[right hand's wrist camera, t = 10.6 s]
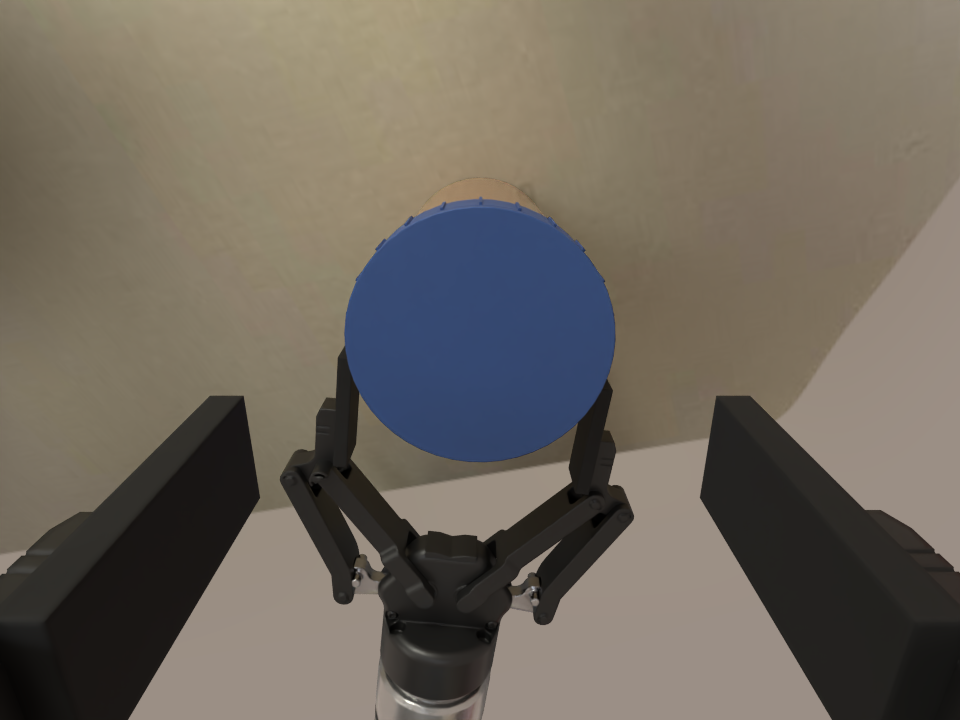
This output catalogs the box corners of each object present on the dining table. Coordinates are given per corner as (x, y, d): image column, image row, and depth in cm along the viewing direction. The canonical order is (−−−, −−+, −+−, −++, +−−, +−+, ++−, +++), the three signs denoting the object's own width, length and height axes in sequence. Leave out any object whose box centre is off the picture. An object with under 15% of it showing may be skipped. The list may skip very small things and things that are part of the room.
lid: (316, 373, 23) (300, 397, 21) (421, 145, 20) (414, 148, 18) (526, 469, 25) (531, 501, 23) (653, 273, 22) (671, 288, 20)
